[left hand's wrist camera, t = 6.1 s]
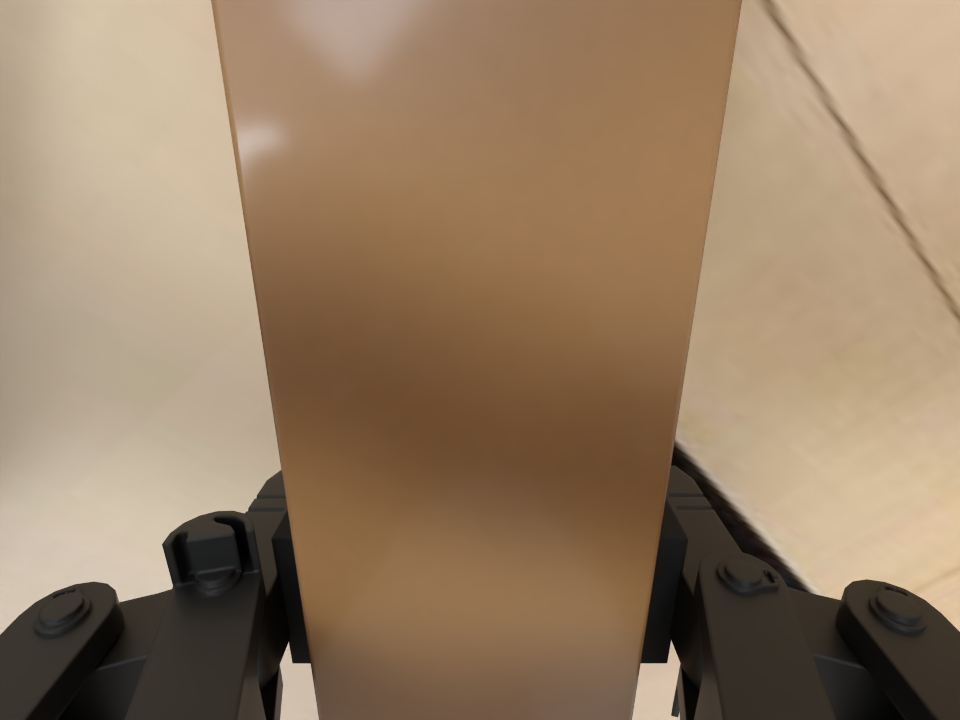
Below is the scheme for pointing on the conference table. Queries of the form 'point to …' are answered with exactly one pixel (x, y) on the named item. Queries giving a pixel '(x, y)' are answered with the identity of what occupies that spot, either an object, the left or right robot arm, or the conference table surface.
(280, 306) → the bar
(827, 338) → the conference table surface
